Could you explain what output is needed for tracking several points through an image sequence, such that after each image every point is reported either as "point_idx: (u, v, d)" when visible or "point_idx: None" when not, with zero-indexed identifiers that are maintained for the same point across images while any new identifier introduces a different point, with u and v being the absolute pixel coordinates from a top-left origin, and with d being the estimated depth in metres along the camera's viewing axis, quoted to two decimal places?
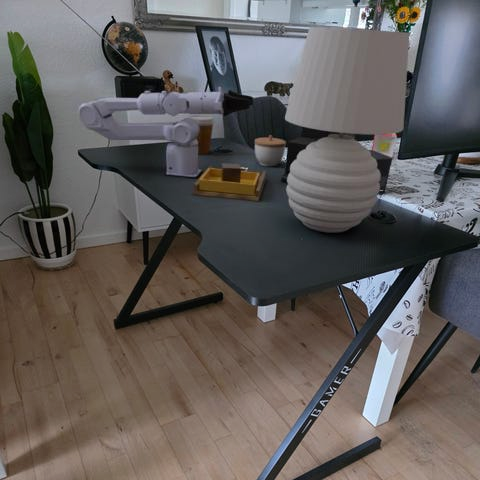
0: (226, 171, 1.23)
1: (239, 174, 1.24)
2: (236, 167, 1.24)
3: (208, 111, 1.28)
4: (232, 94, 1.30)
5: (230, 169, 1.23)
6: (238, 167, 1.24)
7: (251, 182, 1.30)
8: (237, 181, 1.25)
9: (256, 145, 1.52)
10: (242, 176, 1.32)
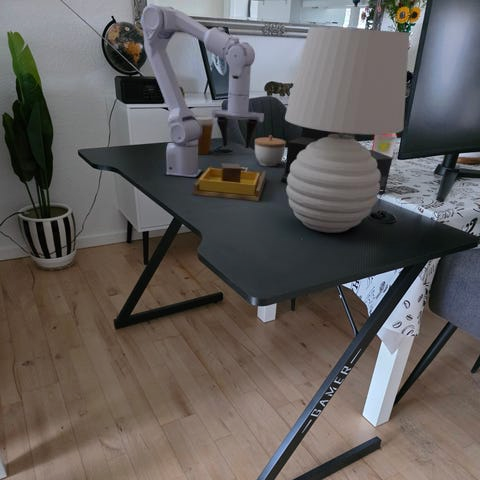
0: (226, 171, 1.23)
1: (239, 174, 1.24)
2: (236, 167, 1.24)
3: None
4: (247, 126, 1.25)
5: (230, 169, 1.23)
6: (238, 167, 1.24)
7: (251, 182, 1.30)
8: (237, 181, 1.25)
9: (256, 145, 1.52)
10: (242, 176, 1.32)
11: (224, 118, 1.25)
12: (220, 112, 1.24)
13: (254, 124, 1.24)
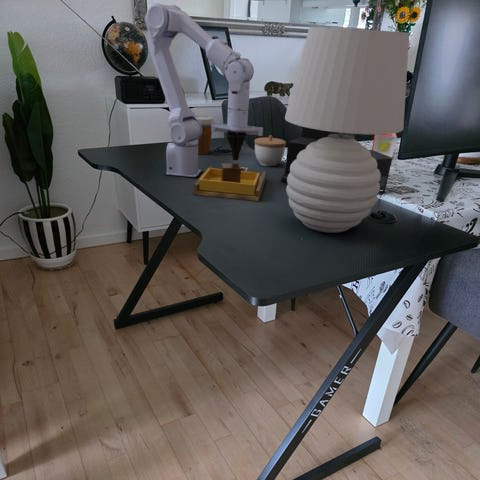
0: (226, 171, 1.23)
1: (239, 174, 1.24)
2: (236, 167, 1.24)
3: None
4: (236, 139, 1.27)
5: (230, 169, 1.23)
6: (238, 167, 1.24)
7: (251, 182, 1.30)
8: (237, 181, 1.25)
9: (256, 145, 1.52)
10: (242, 176, 1.32)
11: None
12: (220, 126, 1.26)
13: (243, 137, 1.26)
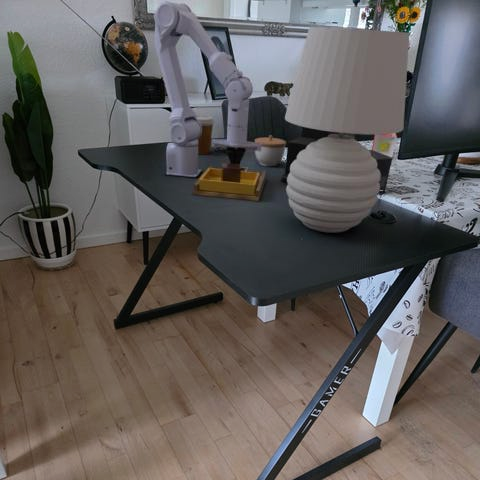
0: (226, 171, 1.23)
1: (239, 174, 1.24)
2: (236, 167, 1.24)
3: None
4: (235, 154, 1.30)
5: (230, 169, 1.23)
6: (238, 167, 1.24)
7: (251, 182, 1.30)
8: (237, 181, 1.25)
9: None
10: (242, 176, 1.32)
11: (223, 147, 1.30)
12: (219, 142, 1.29)
13: (242, 153, 1.29)
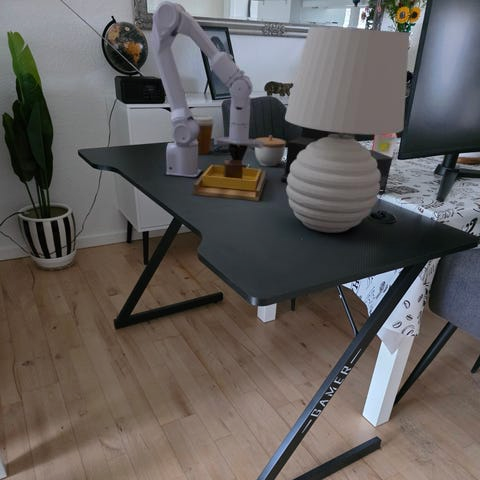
0: (228, 167, 1.26)
1: (241, 170, 1.27)
2: (238, 164, 1.27)
3: None
4: (237, 151, 1.33)
5: (232, 165, 1.26)
6: (240, 164, 1.27)
7: (253, 178, 1.33)
8: (239, 177, 1.28)
9: None
10: (244, 173, 1.35)
11: None
12: (222, 139, 1.32)
13: (244, 150, 1.32)
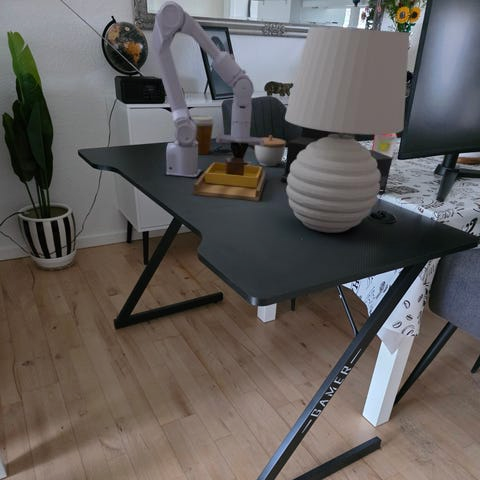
0: (230, 164, 1.29)
1: (243, 168, 1.30)
2: (240, 161, 1.30)
3: None
4: (239, 149, 1.36)
5: (234, 163, 1.29)
6: (242, 161, 1.30)
7: (254, 176, 1.36)
8: (241, 174, 1.31)
9: (256, 145, 1.52)
10: (245, 170, 1.38)
11: None
12: (224, 137, 1.35)
13: (245, 148, 1.35)
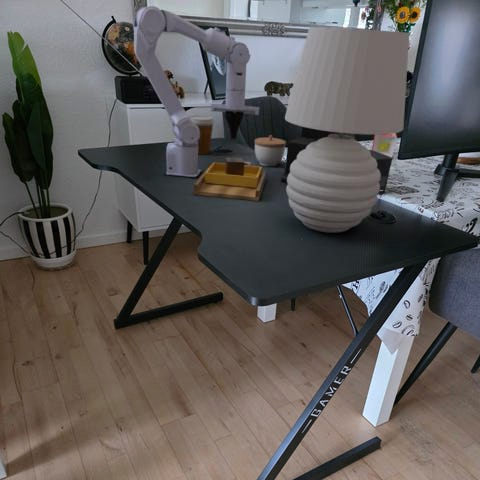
0: (230, 164, 1.29)
1: (243, 168, 1.30)
2: (240, 161, 1.30)
3: None
4: (234, 118, 1.35)
5: (234, 163, 1.29)
6: (242, 161, 1.30)
7: (254, 176, 1.36)
8: (241, 174, 1.31)
9: (256, 145, 1.52)
10: (245, 170, 1.38)
11: None
12: (218, 106, 1.34)
13: (240, 116, 1.34)
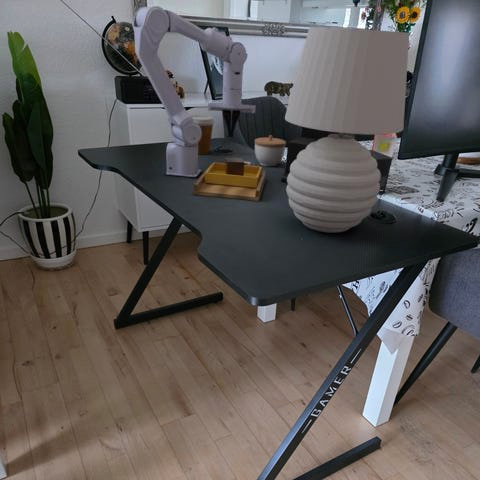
0: (230, 164, 1.29)
1: (243, 168, 1.30)
2: (240, 161, 1.30)
3: None
4: None
5: (234, 163, 1.29)
6: (242, 161, 1.30)
7: (254, 176, 1.36)
8: (241, 174, 1.31)
9: (256, 145, 1.52)
10: (245, 170, 1.38)
11: (219, 110, 1.37)
12: (216, 105, 1.36)
13: (238, 115, 1.36)
